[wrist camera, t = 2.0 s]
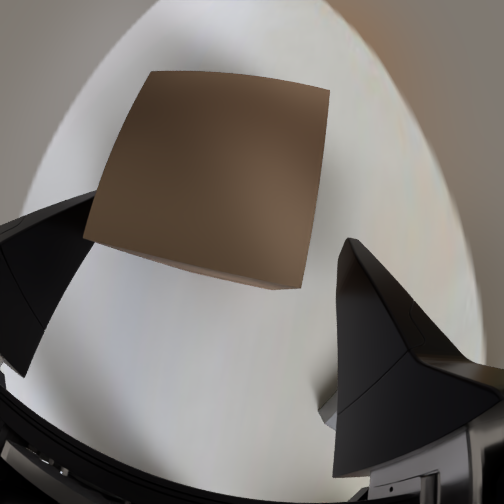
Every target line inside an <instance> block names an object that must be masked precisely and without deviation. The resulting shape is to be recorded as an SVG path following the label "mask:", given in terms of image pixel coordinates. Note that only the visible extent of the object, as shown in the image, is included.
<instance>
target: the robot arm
mask: <svg viewBox="0 0 504 504" xmlns="http://www.w3.org/2000/svg"><path fill="white" fill-rule="evenodd" d="M96 191H97V190H96ZM96 191H93V192H89V193H86V194H83V195H80V196H77V197H74V198H71V199H68V200H65V201H62V202H59V203H57V204H54V205H51V206H48V207H46V208H43V209H40V210H38V211H35V212H33V213H30V214H28V215H25V216H22V217H20V218H18V219H15V220H13V221H10V222H8V223H5V224H3V225H0V367H1V365H2V363H3V362H4V363H5V364H6V365H8V366H9V367H10V368H11V369H13V370H14V371H15V372H16V373H18V374H19V375H20V376H22V377H23V378H25V376H26V374H27V371H28V369H29V366H30V364H31V361H32V359H33V356H34V354H35V352H36V349H37V347H38V345H39V342H40V340H41V338H42V336H43V334H44V332H45V331H44V330H45V329H46V327H47V325H48V323H49V321H50V319H51V317H52V315H53V313H54V311H55V309H56V307H57V305H58V303H59V301H60V300H61V298H62V296H63V294H64V292H65V291H66V289H67V287H68V285H69V284H70V282H71V280H72V278H73V277H74V275H75V273H76V272H77V270H78V268H79V267H80V265H81V263H82V262H83V260H84V259H85V257H86V255H87V254H88V252H89V251H90V249H91V248H92V246H93V244H94V243H95V242H93V241H90V240H87V239H84V238H83V235H84V231H85V227H86V224H87V220H88V217H89V213H90V210H91V207H92V203H93V200H94V197H95V194H96ZM336 314H337V344H338V394H337V419H336V437H335V451H334V463H333V474H332V477H333V478H348V477H365V476H370V484H369V487H365V488H362V489H361V490H359V491H358V492H357V493H356V494H355V495H354V496H353V497H352V498H351V499H350V500H349V501H348V502H336V503H292V502H276V501H266V500H257V499H249V498H242V497H236V496H230V495H225V494H220V493H215V492H210V491H206V490H202V489H198V488H194V487H190V486H186V485H183V484H179V483H176V482H173V481H170V480H167V479H164V478H161V477H158V476H155V475H152V474H149V473H147V472H144V471H141V470H139V469H136V468H134V467H131V466H129V465H127V464H124V463H122V462H120V461H117V460H115V459H113V458H111V457H109V456H107V455H105V454H103V453H101V452H99V451H97V450H95V449H93V448H91V447H89V446H87V445H85V444H84V443H82V442H80V441H78V440H76V439H75V438H73V437H71V436H70V435H68V434H66V433H65V432H63V431H62V430H60V429H58V428H57V427H55V426H54V425H52V424H51V423H49V422H48V421H46V420H45V419H43V418H42V417H41V416H39V415H38V414H36V413H35V412H34V411H32V410H31V409H30V408H28V407H27V406H26V405H24V404H23V403H22V402H21V401H19V400H18V399H17V398H16V397H14V396H13V395H12V394H11V393H10V392H8V391H7V390H6V384H5V375H4V374H3V373H2V372H1V371H0V504H504V369H500V368H495V367H491V366H486V365H481V364H477V363H475V362H472V361H470V360H469V359H467V358H466V357H465V356H464V355H463V354H462V353H461V352H460V351H459V350H458V349H457V348H456V347H455V345H454V344H453V343H452V342H451V341H450V340H449V339H448V338H447V337H446V335H445V334H444V333H443V332H442V331H441V330H440V329H439V328H438V327H437V326H436V325H435V323H434V322H433V321H432V320H431V319H430V318H429V317H428V316H427V315H426V313H425V312H424V311H423V310H422V309H421V308H420V306H419V305H418V304H417V303H416V302H415V301H414V300H413V298H412V297H411V296H410V295H409V294H408V292H407V291H406V290H405V289H404V288H403V287H402V286H401V285H400V283H399V282H398V281H397V280H396V279H395V278H394V277H393V276H392V275H391V274H390V272H389V271H388V270H387V269H386V268H385V267H384V266H383V265H382V264H381V263H380V262H379V261H378V260H377V259H376V257H375V256H374V255H373V254H372V253H371V252H370V251H369V250H368V249H367V248H366V247H365V246H364V245H363V244H362V243H361V242H360V241H359V240H357V239H353V238H347V239H346V240H345V243H344V245H343V248H342V250H341V252H340V255H339V258H338V267H337V287H336ZM26 448H27V449H26ZM33 452H34V453H33ZM35 453H36V454H35ZM42 460H44V461H46V462H48V463H49V464H48V463H46V462H43V461H42ZM60 471H62V472H63V473H62V474H61V473H60Z"/></svg>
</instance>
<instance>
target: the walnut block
mask: <svg viewBox="0 0 504 504" xmlns="http://www.w3.org/2000/svg"><path fill="white" fill-rule="evenodd" d="M329 96H330V90H327V89H323V88H318V87H314V86H310V85H305V84H300V83H295V82H290V81H284V80H279V79H273V78H266V77H259V76H251V75H243V74H233V73H221V72H204V71H151V72H150V74H149V76H148V78H147V79H146V81H145V83H144V85H143V86H142V88H141V90H140V92H139V94H138V96H137V98H136V99H135V101H134V103H133V105H132V107H131V109H130V111H129V113H128V115H127V117H126V119H125V122H124V124H123V126H122V128H121V130H120V132H119V135H118V137H117V139H116V141H115V144H114V146H113V149H112V151H111V153H110V156H109V158H108V161H107V163H106V166H105V169H104V171H103V174H102V177H101V180H100V182H99V185H98V188H97V191H96V194H95V197H94V200H93V203H92V207H91V210H90V213H89V217H88V220H87V224H86V227H85V231H84V235H83V238H84V239H87V240H90V241H93V242H96V243H99V244H102V245H105V246H108V247H111V248H114V249H117V250H120V251H123V252H127V253H130V254H133V255H136V256H139V257H142V258H146V259H149V260H152V261H155V262H159V263H162V264H165V265H168V266H172V267H175V268H178V269H182V270H185V271H189V272H193V273H197V274H201V275H205V276H210V277H214V278H219V279H223V280H228V281H232V282H237V283H241V284H246V285H250V286H255V287H260V288H265V289H269V290H281V289H298V288H301V285H302V280H303V275H304V270H305V265H306V260H307V254H308V249H309V243H310V238H311V232H312V226H313V220H314V214H315V208H316V201H317V195H318V188H319V181H320V174H321V167H322V159H323V151H324V143H325V135H326V126H327V117H328V107H329Z"/></svg>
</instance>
